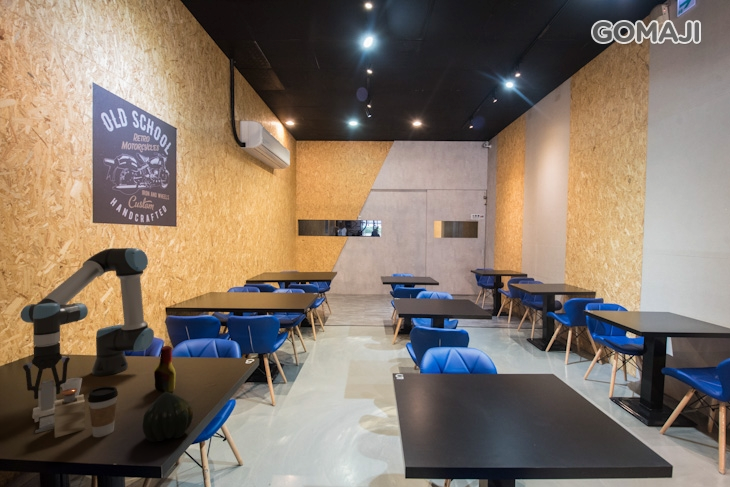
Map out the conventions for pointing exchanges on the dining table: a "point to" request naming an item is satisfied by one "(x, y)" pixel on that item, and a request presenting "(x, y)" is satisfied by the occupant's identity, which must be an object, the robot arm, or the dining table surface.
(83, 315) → the robot arm
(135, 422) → the dining table surface
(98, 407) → the coffee cup
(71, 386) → the cup
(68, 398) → the button
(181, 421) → the squash
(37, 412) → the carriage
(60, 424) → the beige box
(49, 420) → the rail
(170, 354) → the bottle
